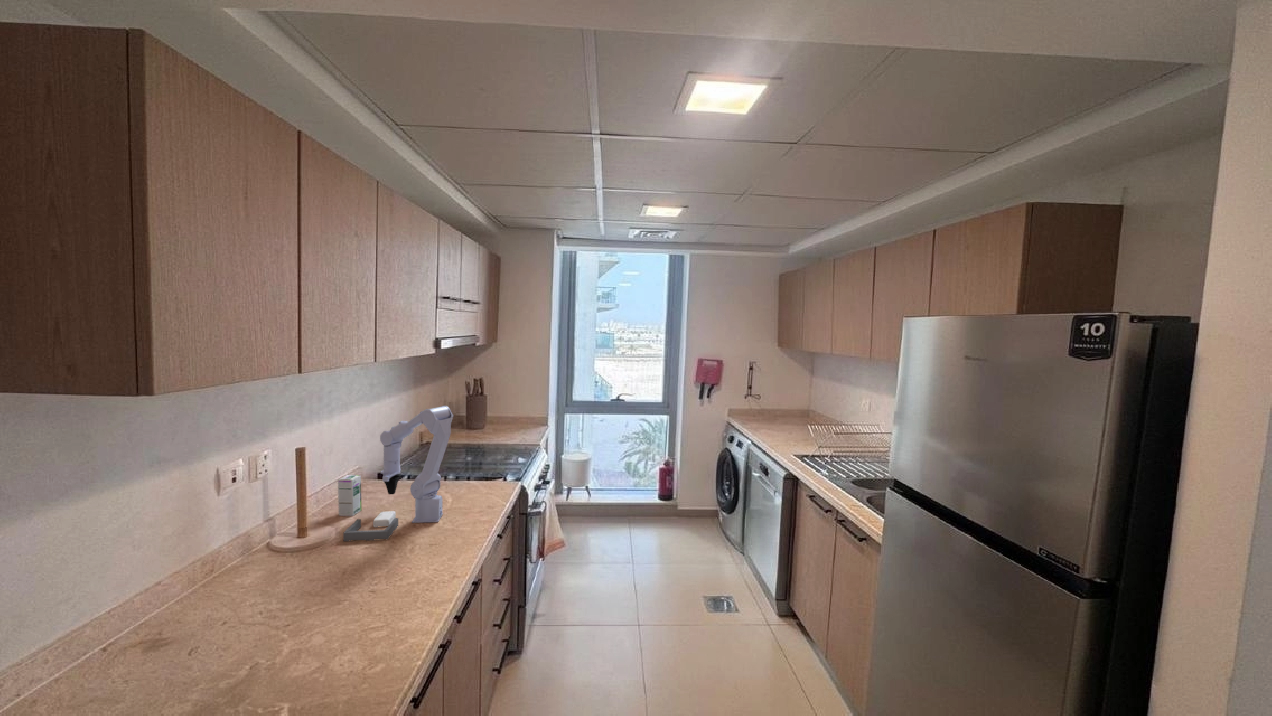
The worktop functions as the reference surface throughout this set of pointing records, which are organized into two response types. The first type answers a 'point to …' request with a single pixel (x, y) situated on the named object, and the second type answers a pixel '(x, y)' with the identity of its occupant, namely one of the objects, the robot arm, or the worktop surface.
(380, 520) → the soap
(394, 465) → the robot arm
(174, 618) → the worktop surface
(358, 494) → the syrup box
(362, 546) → the worktop surface
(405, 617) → the worktop surface
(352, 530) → the box
